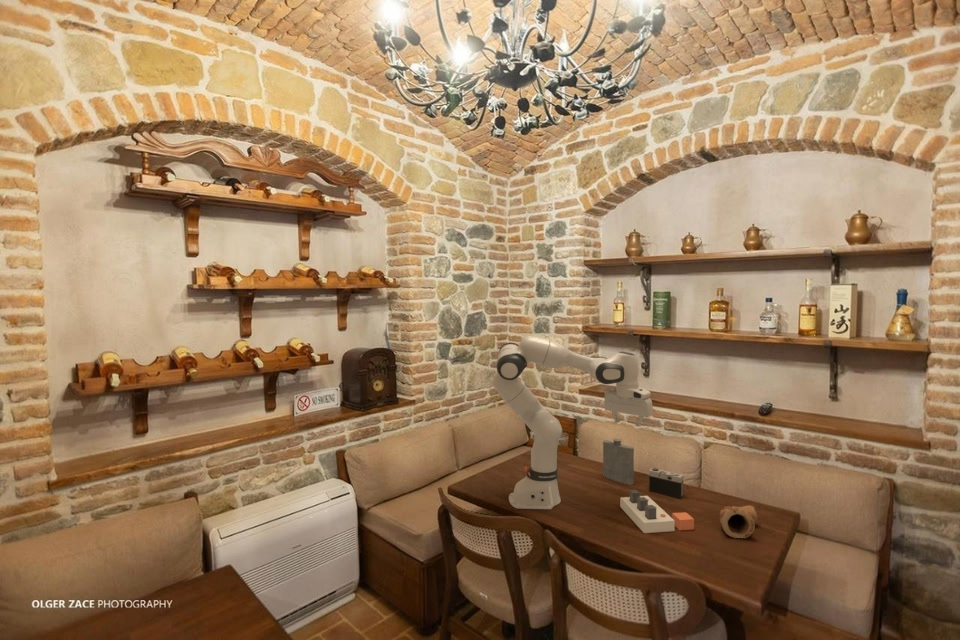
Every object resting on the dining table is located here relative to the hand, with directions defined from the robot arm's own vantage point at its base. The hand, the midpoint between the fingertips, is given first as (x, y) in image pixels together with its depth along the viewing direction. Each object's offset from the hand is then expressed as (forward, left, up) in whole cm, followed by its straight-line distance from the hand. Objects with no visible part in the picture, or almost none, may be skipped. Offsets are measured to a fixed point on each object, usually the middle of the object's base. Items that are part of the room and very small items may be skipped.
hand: (627, 424), depth 194 cm
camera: (+24, +13, -36) cm, 45 cm away
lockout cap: (+15, -17, -36) cm, 42 cm away
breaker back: (+2, -2, -32) cm, 32 cm away
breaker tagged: (+2, -16, -32) cm, 36 cm away
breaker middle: (+2, -9, -32) cm, 34 cm away
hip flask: (+8, +29, -36) cm, 47 cm away
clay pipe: (+34, -23, -36) cm, 55 cm away
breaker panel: (+4, -9, -36) cm, 37 cm away
